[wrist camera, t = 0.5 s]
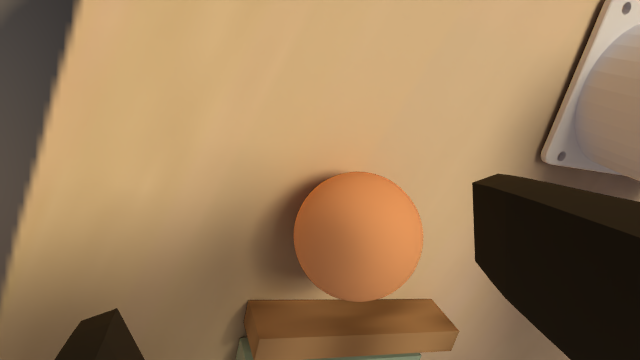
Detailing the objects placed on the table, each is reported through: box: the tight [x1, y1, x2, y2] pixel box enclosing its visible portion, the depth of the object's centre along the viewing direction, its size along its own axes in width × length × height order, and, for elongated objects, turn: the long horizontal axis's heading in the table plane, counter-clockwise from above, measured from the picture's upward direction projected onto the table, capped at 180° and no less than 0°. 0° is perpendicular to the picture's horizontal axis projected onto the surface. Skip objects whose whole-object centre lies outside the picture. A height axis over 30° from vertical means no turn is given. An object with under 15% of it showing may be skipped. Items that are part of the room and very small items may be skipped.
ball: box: [294, 172, 423, 302], centre depth 18 cm, size 5×5×5 cm
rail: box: [244, 299, 459, 360], centre depth 21 cm, size 10×1×2 cm, turn 76°
